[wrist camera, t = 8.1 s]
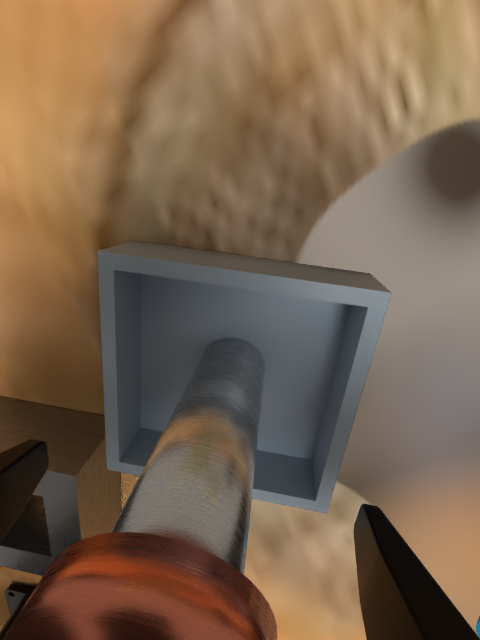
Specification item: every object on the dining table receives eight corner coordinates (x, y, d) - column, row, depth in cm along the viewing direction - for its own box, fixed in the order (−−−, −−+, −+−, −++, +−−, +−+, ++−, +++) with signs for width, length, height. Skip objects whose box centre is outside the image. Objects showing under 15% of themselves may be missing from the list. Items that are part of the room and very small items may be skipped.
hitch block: (121, 516, 21) (85, 585, 17) (10, 492, 21) (-48, 554, 18) (119, 418, 18) (75, 476, 14) (-9, 395, 19) (-82, 444, 15)
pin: (272, 414, 16) (254, 810, 6) (184, 398, 16) (11, 746, 6) (287, 330, 14) (301, 667, 4) (189, 315, 15) (-33, 589, 4)
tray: (320, 462, 17) (326, 513, 14) (134, 427, 18) (106, 469, 15) (369, 273, 13) (391, 292, 11) (133, 240, 14) (97, 250, 12)
